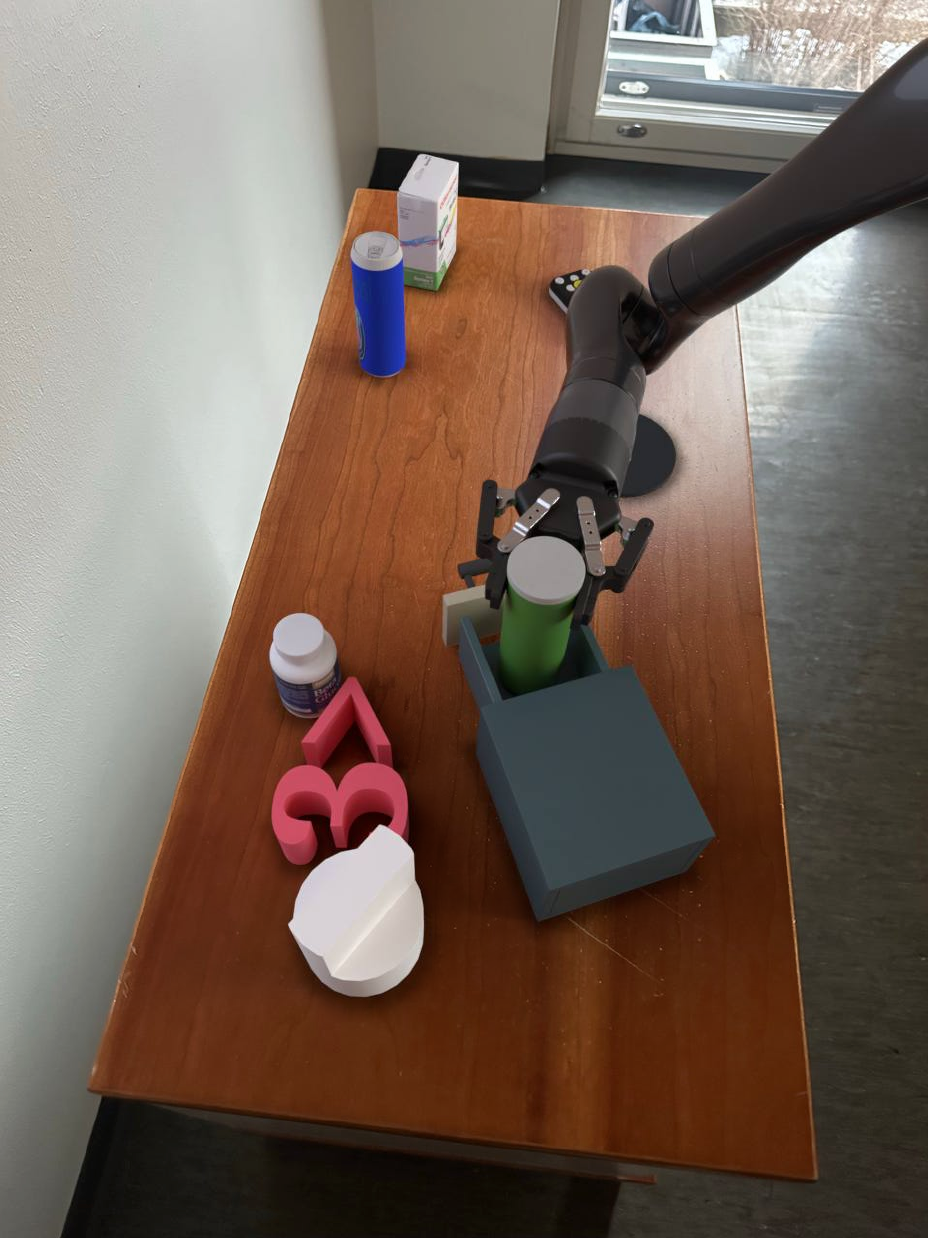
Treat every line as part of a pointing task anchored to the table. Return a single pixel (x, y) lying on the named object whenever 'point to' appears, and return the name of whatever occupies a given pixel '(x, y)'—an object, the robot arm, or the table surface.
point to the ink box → (428, 220)
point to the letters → (357, 790)
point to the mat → (649, 459)
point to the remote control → (566, 287)
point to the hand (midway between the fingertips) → (535, 613)
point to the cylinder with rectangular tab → (362, 916)
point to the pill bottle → (305, 665)
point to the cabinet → (588, 791)
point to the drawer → (475, 620)
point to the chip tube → (538, 612)
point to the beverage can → (379, 303)
